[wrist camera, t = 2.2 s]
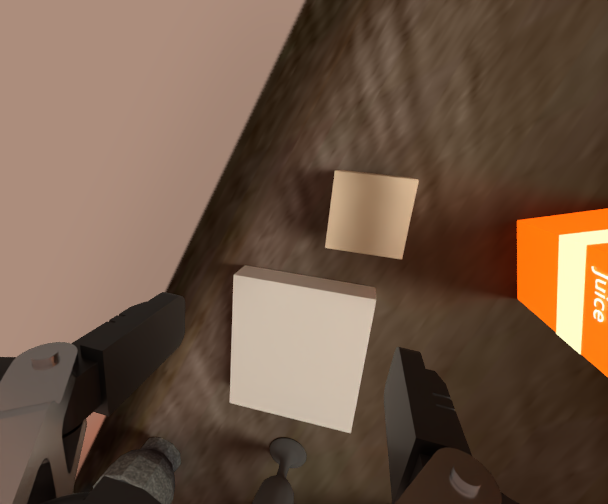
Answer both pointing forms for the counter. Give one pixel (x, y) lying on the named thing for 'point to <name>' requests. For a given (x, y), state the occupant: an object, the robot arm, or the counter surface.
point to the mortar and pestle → (149, 469)
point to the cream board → (299, 345)
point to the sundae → (281, 473)
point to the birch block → (370, 213)
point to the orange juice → (568, 278)
